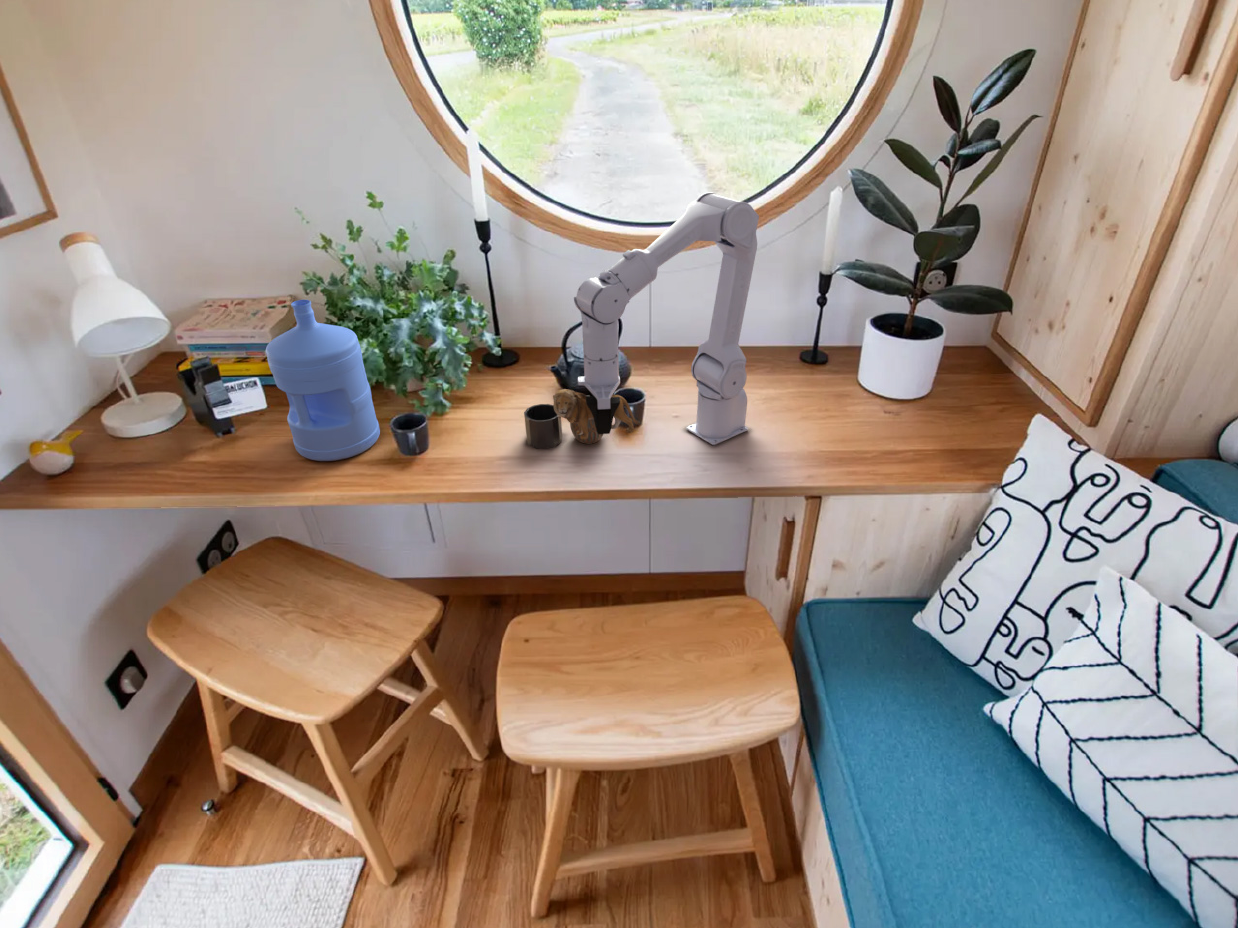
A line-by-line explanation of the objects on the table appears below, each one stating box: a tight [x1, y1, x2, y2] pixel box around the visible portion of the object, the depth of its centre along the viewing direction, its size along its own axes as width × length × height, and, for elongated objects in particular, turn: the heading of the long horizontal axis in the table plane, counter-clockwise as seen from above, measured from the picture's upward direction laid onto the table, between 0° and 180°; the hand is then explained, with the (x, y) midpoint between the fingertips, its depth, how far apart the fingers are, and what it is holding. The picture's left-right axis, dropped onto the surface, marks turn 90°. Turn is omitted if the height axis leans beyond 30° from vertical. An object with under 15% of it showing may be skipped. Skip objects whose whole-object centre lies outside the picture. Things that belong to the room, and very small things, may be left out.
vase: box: [569, 419, 605, 445], centre depth 130 cm, size 7×7×9 cm
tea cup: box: [523, 403, 563, 450], centre depth 131 cm, size 7×7×6 cm
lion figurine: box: [552, 388, 642, 440], centre depth 117 cm, size 15×5×9 cm, turn 104°
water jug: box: [265, 299, 381, 462], centre depth 125 cm, size 16×16×28 cm
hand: (603, 426), depth 119 cm, fingers closed on lion figurine, 4 cm apart
